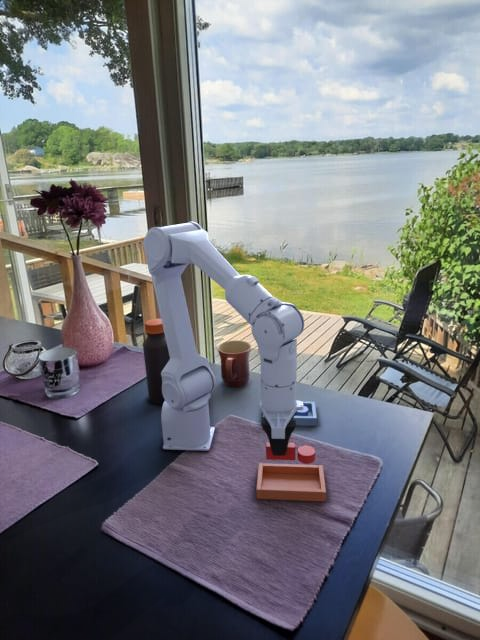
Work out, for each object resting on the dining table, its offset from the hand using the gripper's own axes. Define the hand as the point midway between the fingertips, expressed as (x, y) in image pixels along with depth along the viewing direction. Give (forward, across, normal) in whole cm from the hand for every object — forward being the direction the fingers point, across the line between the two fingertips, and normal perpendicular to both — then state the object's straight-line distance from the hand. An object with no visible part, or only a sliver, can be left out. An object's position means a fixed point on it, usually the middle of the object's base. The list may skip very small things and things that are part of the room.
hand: (279, 450), depth 75 cm
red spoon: (+1, 0, -2) cm, 2 cm away
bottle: (+7, +30, +29) cm, 42 cm away
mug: (+7, +37, +12) cm, 39 cm away
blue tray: (+7, +23, -2) cm, 24 cm away
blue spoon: (+7, +23, -2) cm, 24 cm away
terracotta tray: (+7, 0, -2) cm, 7 cm away
